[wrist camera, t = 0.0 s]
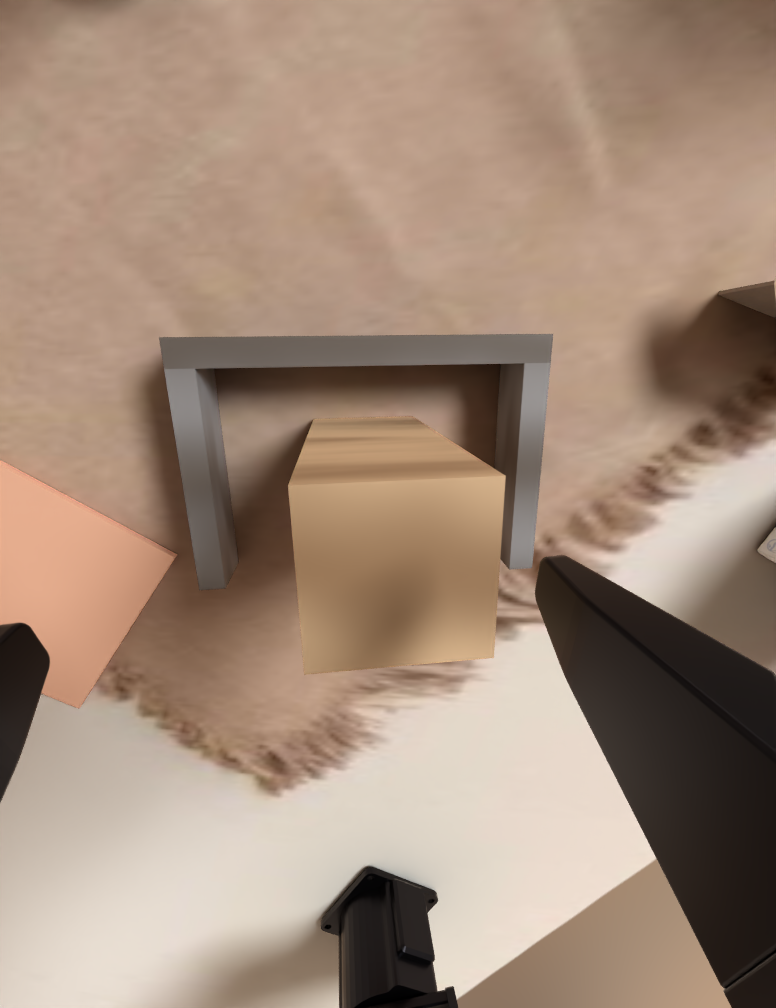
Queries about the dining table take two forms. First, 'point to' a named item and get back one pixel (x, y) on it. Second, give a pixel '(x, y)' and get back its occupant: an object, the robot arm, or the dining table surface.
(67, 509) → the mat
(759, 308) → the platform
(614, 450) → the dining table surface
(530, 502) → the nook
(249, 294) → the dining table surface
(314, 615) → the block
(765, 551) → the light bulb box
